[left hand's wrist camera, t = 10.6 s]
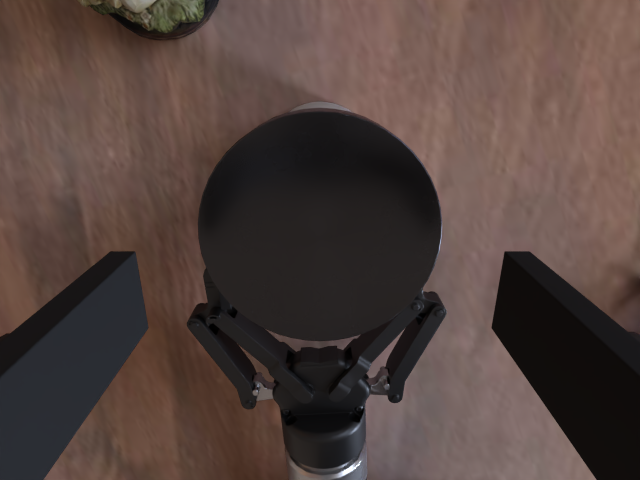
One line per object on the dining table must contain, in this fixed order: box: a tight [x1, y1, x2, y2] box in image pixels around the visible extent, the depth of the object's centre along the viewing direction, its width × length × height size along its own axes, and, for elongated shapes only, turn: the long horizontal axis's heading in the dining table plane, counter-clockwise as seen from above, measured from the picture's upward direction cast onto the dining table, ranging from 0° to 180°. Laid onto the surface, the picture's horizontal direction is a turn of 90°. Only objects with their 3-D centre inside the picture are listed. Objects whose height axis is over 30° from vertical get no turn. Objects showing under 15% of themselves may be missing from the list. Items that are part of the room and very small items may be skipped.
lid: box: [198, 108, 442, 341], centre depth 19 cm, size 10×10×2 cm
